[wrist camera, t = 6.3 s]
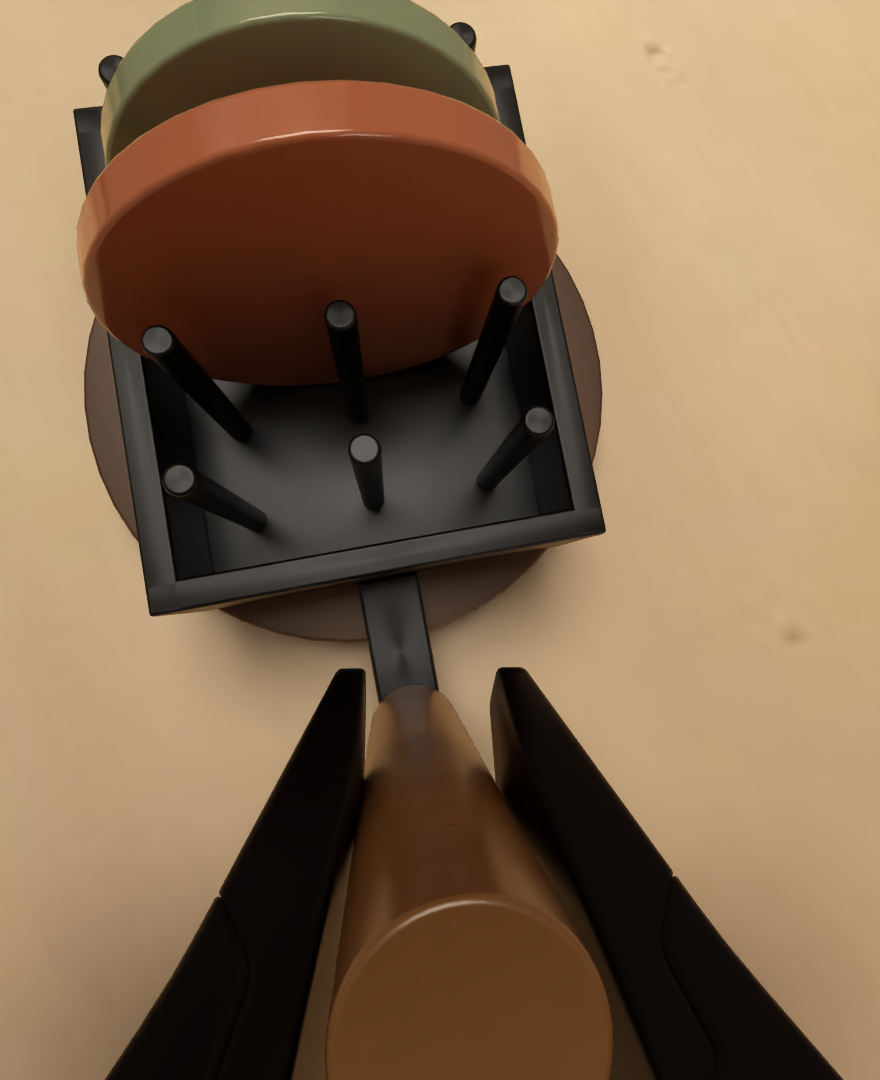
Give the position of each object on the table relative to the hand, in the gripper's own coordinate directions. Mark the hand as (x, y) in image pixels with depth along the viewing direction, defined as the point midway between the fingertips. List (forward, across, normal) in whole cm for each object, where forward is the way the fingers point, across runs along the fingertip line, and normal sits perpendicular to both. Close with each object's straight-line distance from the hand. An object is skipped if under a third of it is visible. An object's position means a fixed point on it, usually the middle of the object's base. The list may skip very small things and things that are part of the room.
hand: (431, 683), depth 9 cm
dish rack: (+7, +1, +1) cm, 7 cm away
